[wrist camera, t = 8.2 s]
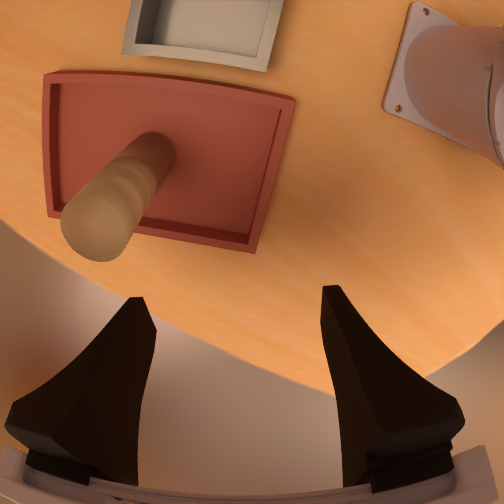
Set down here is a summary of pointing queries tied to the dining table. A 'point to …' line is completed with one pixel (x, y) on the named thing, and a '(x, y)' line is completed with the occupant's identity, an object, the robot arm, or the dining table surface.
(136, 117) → the tray
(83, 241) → the dowel
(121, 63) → the dining table surface
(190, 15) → the grey open box
